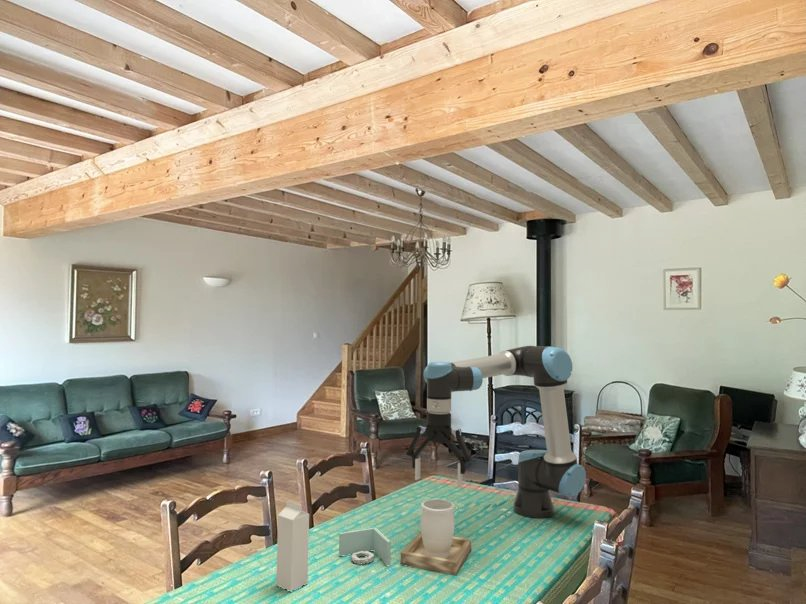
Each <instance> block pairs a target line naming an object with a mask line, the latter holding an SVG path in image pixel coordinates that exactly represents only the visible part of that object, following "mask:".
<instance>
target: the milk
mask: <svg viewBox="0 0 806 604" xmlns="http://www.w3.org/2000/svg"><path fill="white" fill-rule="evenodd" d="M302 507H303V506H302V504H301V503H300V504H299V503H298V502H297V503H296V502H294V501H290V500H287V501H286V506H285V507H284V508H283V509H282V510H281V511H280V513H278V516H277V540H276V542H277V546H276V579H275V580H276V581H275V585H276V584H277V585H279V586H281V587H283V588H285V589H287V590H290V591H292V590H294V589H296V588H299V587H301V586H302V585H304V584H306V583H308V582H309V581H308V580H309V575H308V574H309V573H308V572H309V543H310V541H309V539H310V538H309V537H310V535H309V534H310V513H308V512H306V511H303V510H302ZM301 588H302V587H301ZM299 589H300V588H299Z"/></svg>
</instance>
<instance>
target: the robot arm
mask: <svg viewBox="0 0 806 604" xmlns="http://www.w3.org/2000/svg"><path fill="white" fill-rule="evenodd" d="M572 372H573V361H572V358H571V356H570V354H569V353H568V352H567V351H566V350H565V349H563V348H560V347H556V346H546V345H545V346H544V345H543V346H542V345H541V346H540V345H524V346H519V347H515V348H514V347H513V348H509V349H507V350H506V349H505V350H501V351H500V352H499V354H492V355H487V356H481V357H476V358H470V359H465V360H458V361H453V362H450V361H431V362H429V363H428V364H427V366H426V367H425V368H424V370H423V380H424V382H425V383H426V410H427V413H426V427H425V426H422V425H418V426H417V427H416V432H415V435H414V437H413V439H412V441H411V443H410V446H409V447H408V449H407V452H406V456H409V457H411V461H412V462H411V463H412V465H411V467H412V469H414V480H415V481H418V480H420V479H421V457H420V454H421V453H422V452H423V450H425V448H427V446H428V444H429V443H431V442H432V443H435V444H436V443H437V444H445V445H446V446H448V448H449V449H450V450H451V452H452V454H453V455H454V456H455V458H456V459H457V460H458V462H457V486H462V484H463V475H464V474H465V473H466V465H467V464H466V463H469V462H471V460H472V459H473V458H472V456H471V455H472V454H471V453H470V451H469V448H468V447H467V444H466V442H465V440H464V437H463V435H462V434H463V432H462V429H461V428H458V429H452V414H451V411H452V393H454V392H466V391H467V392H471V391H476V390H479V389H480V388H481V387H482V385H483V383H484V381H483V380H484V379H486V378H492V377H496V376H501V375H503V376H505V377H512V376H521V377H529V378H533V379H532V380H533V386H534V387H536V388H537V389H538V391H539V392H538V393H539V398H540V404H541V405H540V406H541V414H542V422H543V430H544V439H545V447H546V450H545V449H528V450H523V451H521V452H519V454H518V461H517V470H518V471H517V472H518V473H517V475H518V477H517V482H518V489H517V493H516V495H515V499H514V502H513V511H514V512H515V513H516V514H518V515H521V516H523V517H526V516H527V517H526V518H532V517H533V519H534V518H535V519H536V518H537V519H543V518H550V517H553V515H554V514H555V507H554V504H553V500H552V497H551V494H550V491H552V492H555V493H557V494H559V495H561V496H567V497H575V496H576V495H578V494H580V492H581V491H582V490H583V487H584V486H585V483H586V478H587V477H586V476H587V472H586V470H585V467H583V466H582V464H579V463H578V460H577V459H578V458H577V455H576V454H575V453H574V452H573V451H572V445H571V437H570V429H569V421H568V413H567V405H566V404H567V403H566V398H565V389H564V388H565V386H566V385H567V384H568V380H569V378H571V376H572ZM425 433H426V435H427V437H426V438H425V440H424V441H423V442H422V443H421V445H419V447H418V448H417V449H416V447H417V445H418V443H419V441H420V439H421V438H422V435H423V434H425ZM452 435H453V436H454V437H455V440H456V441H457V443H458V445H459V448H458V446H457V445H456V444H455V443H454V440H453V439H452V438H451V436H452ZM415 449H416V450H415Z"/></svg>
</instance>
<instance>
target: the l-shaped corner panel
mask: <svg viewBox="0 0 806 604" xmlns="http://www.w3.org/2000/svg"><path fill="white" fill-rule="evenodd" d="M338 534H339V535H338V557H339V556H342V555H348V554H352V555H350V561H353V562H355V563H358V564H357V565H359V564H361V563H362V564H365V563H369V562H370V563H372V562H373V561H374V559H375V558H374V557H375V555H376V554H377V555H378V556H379V557H380V558H381V559H382V560H383V561H384V562H385V563H384V562H383V561H382V560H381V559H380V558H379V557H378V556H377V555H376V556H377V557H378V558H379V559H380V560H381V561H382V562H383V563H384V564H385V566H387V565H390V566H391V564H392V563H391V560H392V559H391V554H392V552H391V550H392V547H391V546H392V541H391V540H390V539H389V538H388V537H387V536H385V535H384V534H383V533H382V531H380V530H379V529H378V528H377V527H376V526H375V527H368V528H362V529H357V530H356V529H355V530H350V531H344V532H338ZM371 550H374V551H375V552H376V554H375V555H374V553H372V552H368V551H371ZM353 553H354V554H353ZM358 556H367V558H364V557H363V558H361V557H358ZM353 562H352V563H353ZM370 563H369V564H370ZM365 565H366V564H365Z"/></svg>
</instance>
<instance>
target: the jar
mask: <svg viewBox="0 0 806 604" xmlns="http://www.w3.org/2000/svg"><path fill="white" fill-rule="evenodd" d="M420 508H421V510H422V511H421V514H420V515H421V516H420V531H421V533H422V541H423V544H424V547H425V549H424V555H428V556H434V557H439V558H448V557H449V556H450V555H451V552H450V550H449V549H450V547H451V544H452V540H453V537H454V534H455V533H454V532H455V516H454V515H455V514H454V511H455V504H454V503H453V502H452V501H449V500H445V499H440V498H439V499H437V498H435V499H433V498H432V499H428V500H424V501H422V502H421V504H420Z"/></svg>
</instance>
